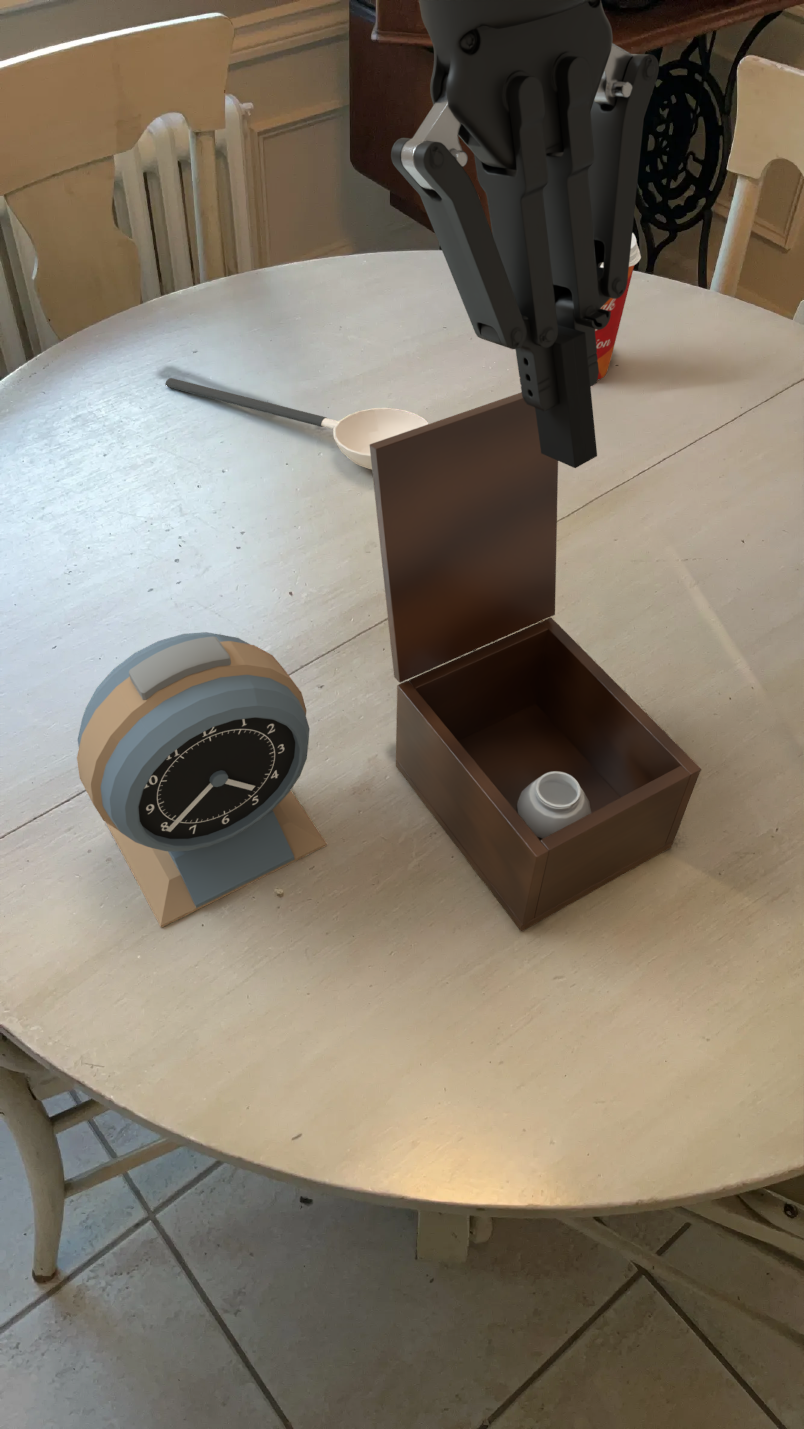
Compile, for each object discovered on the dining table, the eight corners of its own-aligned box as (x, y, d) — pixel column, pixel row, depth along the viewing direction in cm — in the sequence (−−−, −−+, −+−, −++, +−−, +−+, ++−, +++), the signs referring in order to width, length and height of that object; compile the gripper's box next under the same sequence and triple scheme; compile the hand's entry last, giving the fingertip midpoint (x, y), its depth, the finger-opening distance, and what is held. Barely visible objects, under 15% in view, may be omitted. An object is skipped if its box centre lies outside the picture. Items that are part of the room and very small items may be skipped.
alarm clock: (146, 935, 68) (88, 766, 54) (91, 827, 73) (25, 649, 59) (339, 838, 73) (330, 662, 59) (274, 744, 78) (252, 563, 65)
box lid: (560, 385, 63) (551, 381, 64) (376, 449, 59) (368, 444, 59) (555, 614, 74) (548, 609, 74) (399, 683, 69) (393, 677, 70)
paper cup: (531, 372, 111) (548, 241, 101) (567, 341, 116) (586, 212, 105) (597, 396, 109) (621, 264, 98) (631, 364, 113) (657, 234, 102)
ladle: (411, 496, 96) (405, 455, 93) (156, 435, 109) (144, 397, 106) (451, 450, 101) (447, 409, 98) (202, 396, 114) (192, 359, 110)
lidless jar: (504, 798, 74) (538, 854, 71) (508, 773, 72) (543, 829, 69) (566, 776, 75) (602, 829, 72) (572, 751, 73) (609, 804, 70)
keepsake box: (672, 847, 73) (701, 768, 66) (521, 932, 68) (536, 857, 61) (536, 699, 81) (551, 616, 75) (395, 766, 77) (396, 684, 70)
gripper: (569, -142, 44) (613, 387, 59) (308, -58, 40) (427, 486, 55) (702, -166, 39) (713, 422, 54) (417, -73, 35) (516, 534, 50)
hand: (568, 454), depth 54 cm, fingers closed
